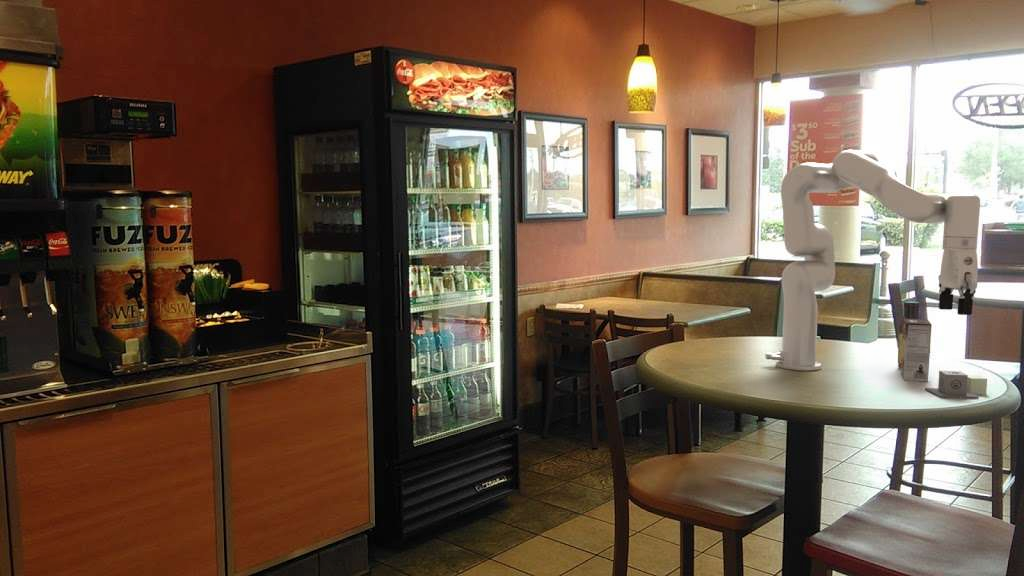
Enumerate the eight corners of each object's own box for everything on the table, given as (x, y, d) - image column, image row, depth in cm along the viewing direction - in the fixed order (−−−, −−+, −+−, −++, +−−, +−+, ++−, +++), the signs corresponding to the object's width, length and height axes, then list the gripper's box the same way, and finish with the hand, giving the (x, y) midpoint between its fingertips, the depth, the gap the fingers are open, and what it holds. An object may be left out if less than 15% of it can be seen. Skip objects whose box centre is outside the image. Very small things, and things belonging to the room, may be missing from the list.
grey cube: (966, 394, 200) (967, 375, 200) (944, 393, 201) (946, 374, 201) (959, 390, 205) (960, 371, 205) (938, 389, 206) (939, 370, 206)
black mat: (941, 398, 199) (941, 396, 199) (924, 389, 208) (924, 388, 208) (978, 398, 199) (978, 396, 198) (960, 390, 207) (960, 388, 207)
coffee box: (899, 373, 229) (902, 318, 227) (924, 375, 226) (927, 319, 225) (903, 380, 220) (906, 322, 218) (929, 382, 218) (932, 323, 216)
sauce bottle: (923, 371, 232) (927, 303, 230) (900, 370, 233) (904, 303, 231) (916, 367, 238) (920, 301, 237) (894, 366, 240) (897, 300, 238)
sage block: (970, 393, 204) (971, 378, 204) (962, 390, 208) (963, 375, 208) (986, 394, 204) (987, 378, 204) (978, 390, 208) (979, 375, 208)
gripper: (993, 246, 191) (988, 317, 193) (958, 242, 208) (953, 307, 210) (961, 245, 191) (956, 316, 193) (928, 242, 208) (923, 307, 210)
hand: (954, 311), depth 201 cm, fingers open, 9 cm apart
